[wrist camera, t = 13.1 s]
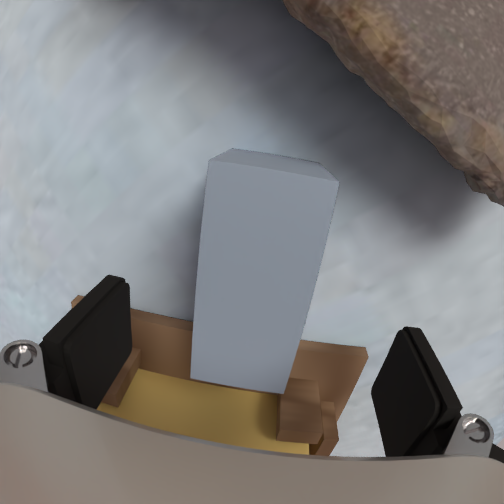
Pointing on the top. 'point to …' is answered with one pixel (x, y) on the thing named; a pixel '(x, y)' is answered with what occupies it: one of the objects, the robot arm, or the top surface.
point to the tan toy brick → (203, 412)
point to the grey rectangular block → (257, 266)
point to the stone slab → (428, 71)
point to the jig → (288, 404)
